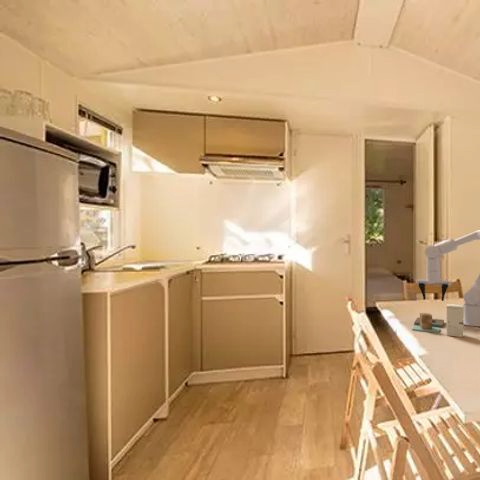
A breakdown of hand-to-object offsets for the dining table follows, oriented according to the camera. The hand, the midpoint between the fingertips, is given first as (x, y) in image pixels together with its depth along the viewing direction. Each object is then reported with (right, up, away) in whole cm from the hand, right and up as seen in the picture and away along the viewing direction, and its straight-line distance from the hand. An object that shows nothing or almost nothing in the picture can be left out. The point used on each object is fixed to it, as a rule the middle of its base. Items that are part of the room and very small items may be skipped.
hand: (433, 299), depth 180 cm
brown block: (-12, -9, -17) cm, 23 cm away
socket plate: (-5, -10, -7) cm, 13 cm away
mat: (-12, -10, -17) cm, 23 cm away
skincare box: (-5, -10, -26) cm, 29 cm away
